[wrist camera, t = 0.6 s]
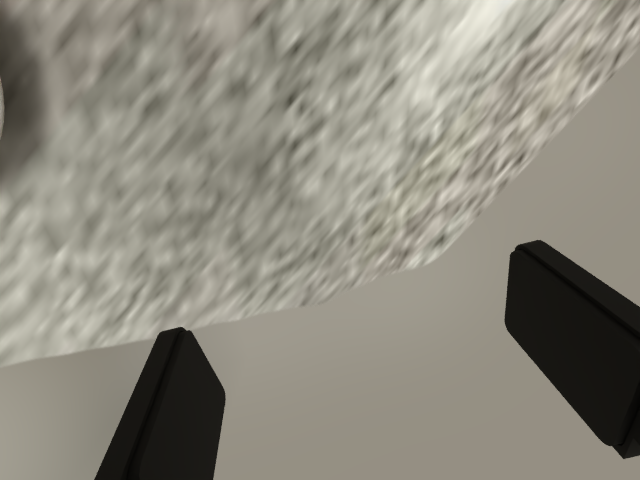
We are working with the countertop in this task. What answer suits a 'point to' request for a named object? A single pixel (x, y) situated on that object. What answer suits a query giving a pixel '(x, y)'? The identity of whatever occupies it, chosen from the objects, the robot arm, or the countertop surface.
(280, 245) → the countertop surface
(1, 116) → the soup bowl
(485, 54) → the countertop surface
